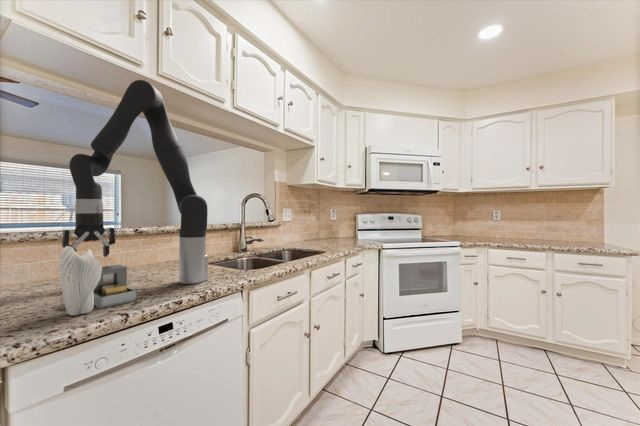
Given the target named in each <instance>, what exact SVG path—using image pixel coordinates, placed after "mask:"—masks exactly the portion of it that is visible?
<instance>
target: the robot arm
mask: <svg viewBox="0 0 640 426" xmlns="http://www.w3.org/2000/svg"><path fill="white" fill-rule="evenodd" d="M140 114H143V115H144V117H145V119H146V122H147V123H148V126H149V130H150V134H151V144H152V148H153V151H154V153H155V156H156V159H157V161H158V164H159V165H160V167H161V169H162V171H163V174H164V176H165V177H166V179H167V181H168V182H169V184H170V187H171V189H172V192H173V195H174V199H175V202H176V205H177V209H178V212H179V213H180V229H179V240H178V241H179V242H178V243H179V244H178V245H179V247H178V248H179V251H178V252H179V255H178V257H179V259H178V262H179V265H178V267H179V269H178V272H179V273H178V278H179V279H178V283H180V284H184V285H191V284H199V283H202V282H206V281H208V280H209V279H208V278H209V276H208V274H209V272H208V270H209V269H208V267H209V266H208V265H209V263H208V262H209V257H208V255H206V251H207V250H206V246H207V245H206V244H207V243H206V242H207V241H206V233H207V227H208V204H207V200H206V199H205V198H203V197H202V196H200V195H198V194H197V192H196V190H195V188H194V186H193V183H192V181H191V180H192V179H191V177H190V176H191V175H190V170H189V164H188V161H187V158H186V155H185V151H184V149H183V147H182V145H181V143H180V140H179V138H178V136H177V134H176V132H175V130H174V128H173V125H172V124H171V121H170V118H169V115H168V111H167V109H166V104H165V100H164V98H163V96H162V93H161V91H160V90H158V89H157V87H155V86H154V85H153V84H151V83H150V82H149V81H148V80H147V81H146V80H143V79H137V80H134V81H132V82H131V83H130V84H129V85H128V87H127V89H126V90H125V92H124V94H123V96H122V98H121V100H120V102H119V103H118V105H117V107H116V108H115V110H114V112H113V114H111V117H110V118H109V119H108V121H107V122H106V123H105V125H104V126H103V128H101V130H100V131H99V132H98V134H96V136H95V137H94V138H93V139H92V141H91V143H90V148H91V149H92V150H93V153H92V155H89V154H85V153H76V154H75V155H73V156H72V157H71V159H70V160H69V164H68V167H69V171H70V175H71V178H72V181H73V185H74V187H75V206H74V210H75V212H74V215H75V217H74V218H75V220H74V221H75V229H74V230H69V229H64V230H63V232H62V243H61V244H62V245H61V246H62V248H63V249H64V248H65V247H66V246H70V247H72V248H73V249H74V250H75V251H76V252H77V251H78V249H76V248H77V247H79V245H80V244H81V243H82V242H95V241H96V242H97V241H99V242H100V243H101V244H102V252H103V253H102V254H103V255H102V256H103V257H104V258H107V257H108V256H110V246H111V245H115V244H116V233H115V232H116V231H115V228H114V227H108V228H107V227H106V228H105V227H104V204H103V191H102V186H101V184H100V183H98V182H97V181H95V179H94V177H100V176H102V175H103V174H104V173H106V171H107V170H108V168H109V167H110V165H111V161H112V159H113V157H114V154H115V153H116V152H117V151H118V149H119V148H120V147H121V146H122V144H123V143H124V142H125V140H126V139H127V136H128V134H129V132H130V129H131V128H132V127H131V126H132V125H133V124H134V121H136V119H137V118H138V116H139V115H140ZM105 233H106V234H107V235H108V240H109V241H107V240H106V238H105V237H103V235H104V234H105ZM73 234H74V235H75V236H76V238H75V239H74V241H73V242H72V243H71V244H70V237H72V236H73ZM77 253H78V252H77Z"/></svg>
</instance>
